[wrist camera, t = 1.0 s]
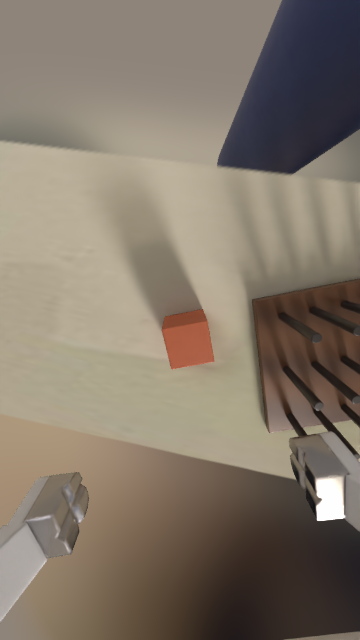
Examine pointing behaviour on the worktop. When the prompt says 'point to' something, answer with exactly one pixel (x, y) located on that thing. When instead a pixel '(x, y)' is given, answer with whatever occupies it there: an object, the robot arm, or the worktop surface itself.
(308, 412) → the dish rack
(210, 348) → the block
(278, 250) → the worktop surface
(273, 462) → the worktop surface
